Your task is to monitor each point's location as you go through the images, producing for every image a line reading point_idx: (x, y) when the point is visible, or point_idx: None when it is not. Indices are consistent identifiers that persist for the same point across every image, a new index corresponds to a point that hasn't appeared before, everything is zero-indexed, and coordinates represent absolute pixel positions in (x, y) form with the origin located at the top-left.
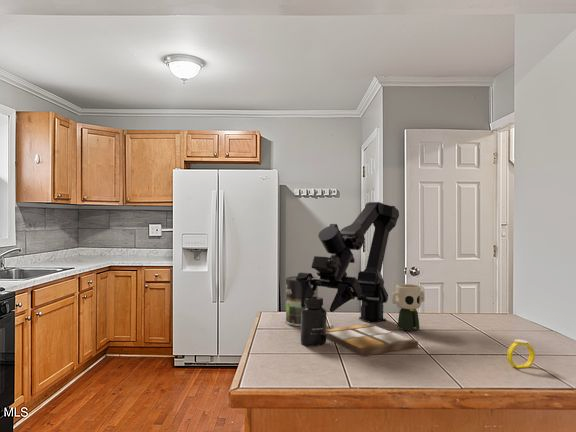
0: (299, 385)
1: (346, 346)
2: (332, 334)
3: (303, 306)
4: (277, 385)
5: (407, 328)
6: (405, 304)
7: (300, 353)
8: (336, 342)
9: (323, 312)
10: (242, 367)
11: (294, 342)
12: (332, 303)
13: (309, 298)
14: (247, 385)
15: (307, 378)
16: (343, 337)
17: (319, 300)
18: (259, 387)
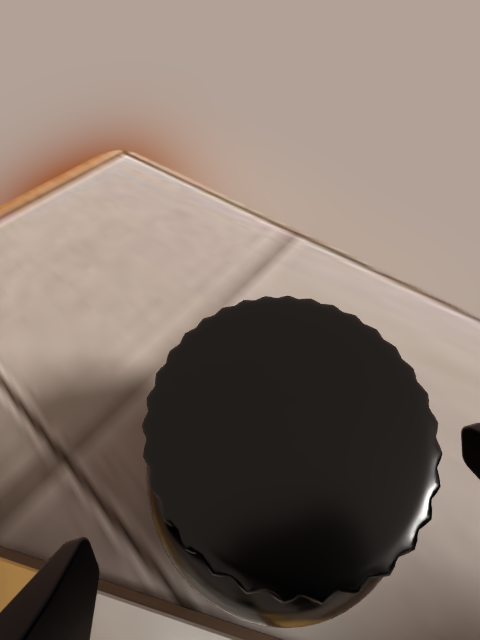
0: (30, 211)
1: None
2: (211, 631)
3: (476, 461)
4: (71, 188)
5: None
6: None
7: None
8: (168, 604)
9: (147, 469)
10: (206, 187)
11: None
12: (16, 628)
13: (278, 324)
14: (119, 162)
15: (35, 238)
16: (98, 633)
17: (148, 401)
18: (94, 169)
